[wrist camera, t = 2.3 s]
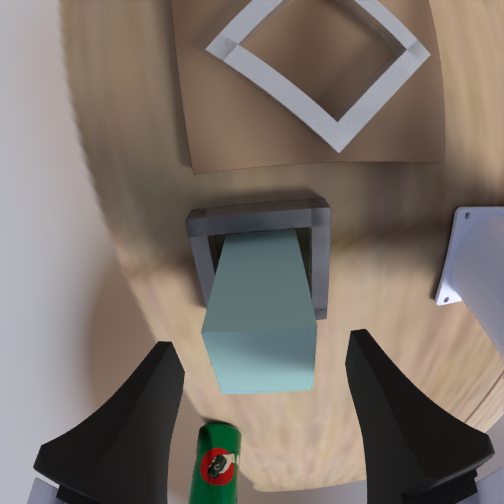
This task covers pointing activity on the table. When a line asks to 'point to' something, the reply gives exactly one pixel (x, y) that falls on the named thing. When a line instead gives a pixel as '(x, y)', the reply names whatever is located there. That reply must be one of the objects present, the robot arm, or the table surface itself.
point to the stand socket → (259, 219)
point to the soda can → (216, 465)
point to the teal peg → (261, 316)
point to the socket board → (309, 82)
